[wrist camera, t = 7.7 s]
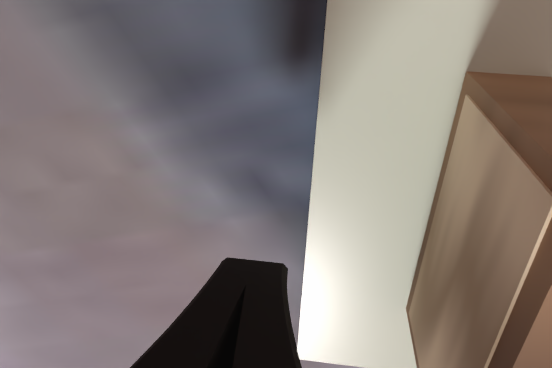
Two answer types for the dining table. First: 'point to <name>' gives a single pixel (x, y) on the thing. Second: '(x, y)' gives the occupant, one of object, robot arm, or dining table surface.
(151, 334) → the dining table surface
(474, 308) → the walnut slab
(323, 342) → the mat
